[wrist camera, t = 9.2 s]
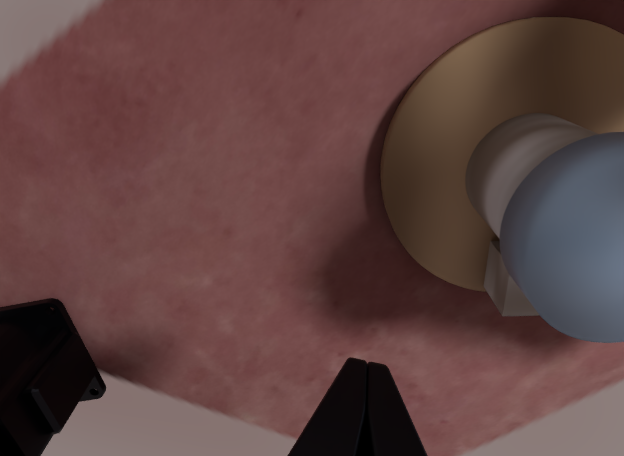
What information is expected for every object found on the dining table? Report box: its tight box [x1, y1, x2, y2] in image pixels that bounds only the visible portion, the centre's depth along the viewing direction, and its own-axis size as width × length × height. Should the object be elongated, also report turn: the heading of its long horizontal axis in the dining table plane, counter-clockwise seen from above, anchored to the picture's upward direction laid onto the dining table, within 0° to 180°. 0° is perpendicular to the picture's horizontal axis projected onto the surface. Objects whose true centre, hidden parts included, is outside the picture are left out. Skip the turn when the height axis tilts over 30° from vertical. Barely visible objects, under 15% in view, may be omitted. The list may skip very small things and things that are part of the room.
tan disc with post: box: [380, 17, 624, 316], centre depth 17 cm, size 12×12×6 cm
